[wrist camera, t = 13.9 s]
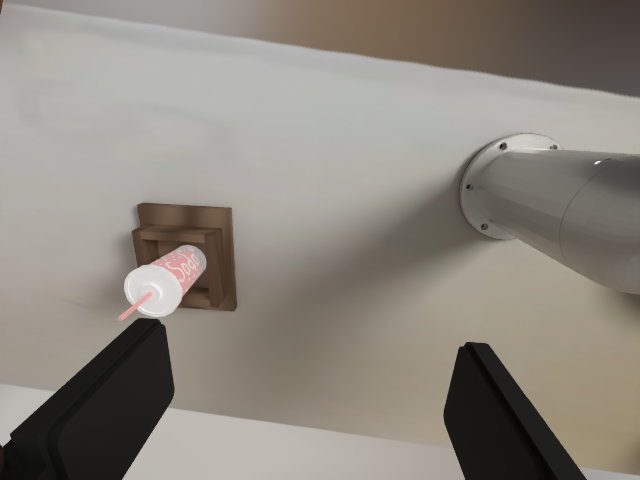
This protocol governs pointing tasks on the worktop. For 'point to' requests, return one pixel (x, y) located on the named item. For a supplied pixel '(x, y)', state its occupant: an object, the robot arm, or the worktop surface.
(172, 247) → the cup holder
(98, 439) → the robot arm
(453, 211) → the worktop surface
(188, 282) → the beverage cup
